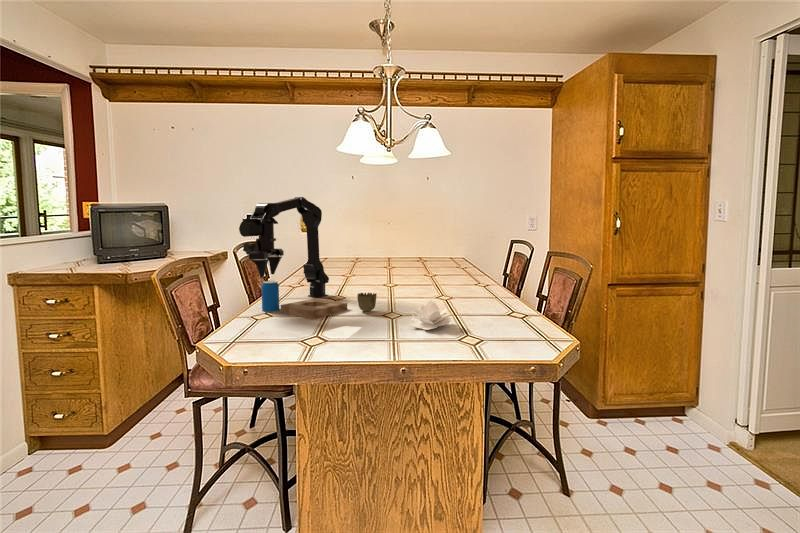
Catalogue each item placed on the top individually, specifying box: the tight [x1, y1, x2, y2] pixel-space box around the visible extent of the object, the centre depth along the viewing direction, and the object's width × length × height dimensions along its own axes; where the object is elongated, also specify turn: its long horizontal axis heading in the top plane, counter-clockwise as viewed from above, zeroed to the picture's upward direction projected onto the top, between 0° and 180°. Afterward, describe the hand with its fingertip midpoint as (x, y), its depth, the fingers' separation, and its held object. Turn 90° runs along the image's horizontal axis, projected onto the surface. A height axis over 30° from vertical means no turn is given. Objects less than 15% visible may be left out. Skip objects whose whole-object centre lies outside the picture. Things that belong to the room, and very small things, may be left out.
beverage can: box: [261, 280, 280, 313], centre depth 173 cm, size 6×6×12 cm
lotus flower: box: [409, 300, 452, 331], centre depth 151 cm, size 14×15×9 cm
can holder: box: [280, 297, 348, 321], centre depth 172 cm, size 18×18×4 cm
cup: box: [356, 292, 377, 314], centre depth 169 cm, size 8×7×8 cm
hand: (267, 275), depth 173 cm, fingers open, 9 cm apart
